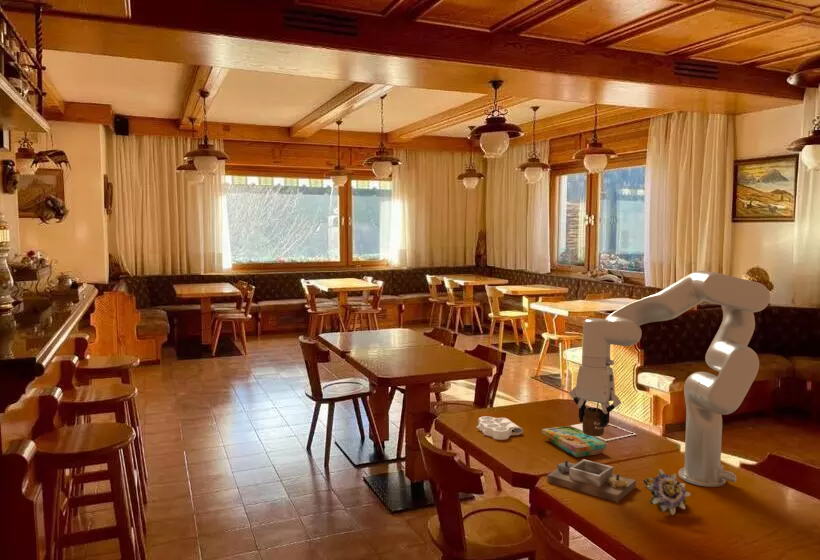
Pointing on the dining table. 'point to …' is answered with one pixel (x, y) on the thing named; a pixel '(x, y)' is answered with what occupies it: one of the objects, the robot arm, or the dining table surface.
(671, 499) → the passion flower
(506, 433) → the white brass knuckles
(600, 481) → the gear board
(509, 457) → the dining table surface
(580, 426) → the photo frame
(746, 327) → the robot arm
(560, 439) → the puzzle game
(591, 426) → the utensil holder
